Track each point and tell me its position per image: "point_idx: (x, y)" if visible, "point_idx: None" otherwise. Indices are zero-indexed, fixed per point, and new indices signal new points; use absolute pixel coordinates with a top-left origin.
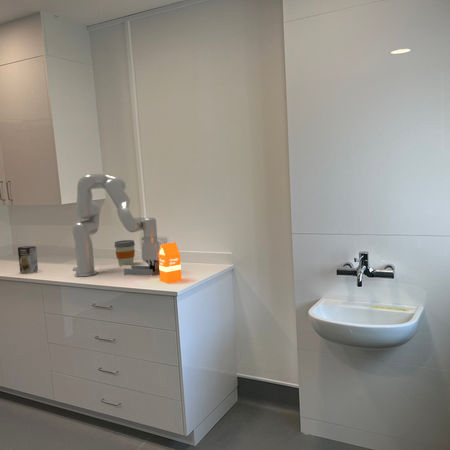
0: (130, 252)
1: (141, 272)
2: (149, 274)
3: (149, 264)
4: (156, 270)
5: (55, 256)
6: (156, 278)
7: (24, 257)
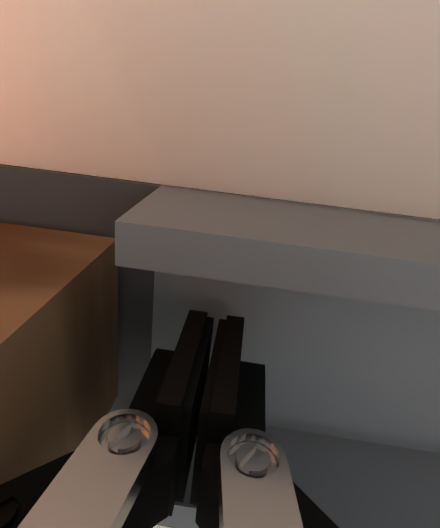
0: None
1: (417, 237)
2: (215, 200)
3: (243, 450)
4: (48, 264)
5: None
6: (15, 43)
7: None
